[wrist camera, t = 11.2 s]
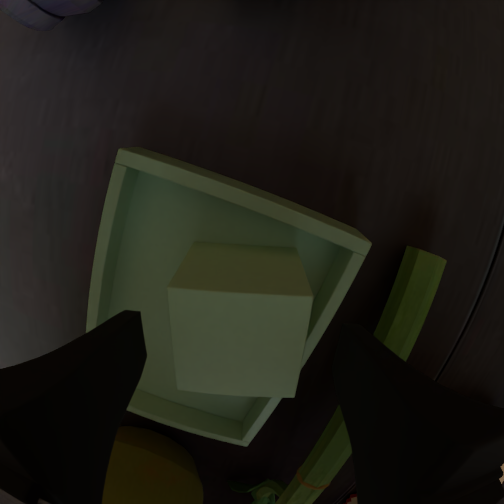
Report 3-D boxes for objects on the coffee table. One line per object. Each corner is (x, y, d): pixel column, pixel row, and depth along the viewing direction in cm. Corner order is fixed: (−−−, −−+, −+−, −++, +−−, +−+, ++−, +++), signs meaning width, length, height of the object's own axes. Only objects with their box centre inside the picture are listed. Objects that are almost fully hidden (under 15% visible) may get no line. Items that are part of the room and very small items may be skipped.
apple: (105, 381, 17) (40, 515, 7) (233, 437, 19) (223, 575, 8) (87, 439, 20) (47, 532, 10) (184, 481, 22) (168, 577, 11)
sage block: (193, 241, 13) (165, 287, 9) (296, 247, 13) (314, 296, 9) (196, 327, 15) (176, 390, 11) (286, 332, 15) (294, 398, 11)
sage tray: (137, 146, 12) (118, 147, 10) (357, 229, 14) (372, 243, 12) (96, 370, 17) (83, 391, 15) (247, 422, 18) (247, 447, 16)
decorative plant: (490, 280, 12) (284, 568, 16) (401, 248, 20) (265, 511, 24) (420, 246, 10) (221, 573, 14) (330, 221, 18) (210, 510, 22)
